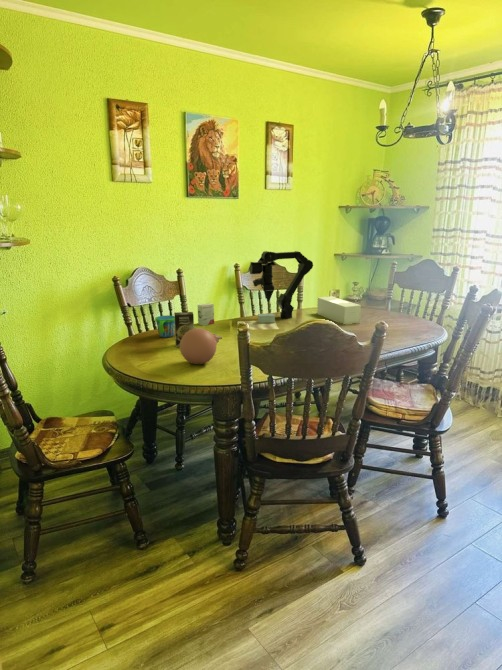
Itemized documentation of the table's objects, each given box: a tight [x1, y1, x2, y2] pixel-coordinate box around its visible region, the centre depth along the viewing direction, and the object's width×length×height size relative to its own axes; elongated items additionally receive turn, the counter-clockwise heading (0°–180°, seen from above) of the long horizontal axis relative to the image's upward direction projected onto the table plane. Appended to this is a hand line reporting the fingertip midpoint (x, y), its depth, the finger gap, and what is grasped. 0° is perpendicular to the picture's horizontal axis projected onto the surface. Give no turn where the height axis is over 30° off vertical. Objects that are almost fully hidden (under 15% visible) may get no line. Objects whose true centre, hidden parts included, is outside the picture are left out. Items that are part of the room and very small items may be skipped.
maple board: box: [236, 320, 280, 331], centre depth 251 cm, size 22×20×2 cm
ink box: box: [197, 302, 215, 327], centre depth 259 cm, size 9×5×12 cm, turn 129°
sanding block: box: [257, 313, 276, 324], centre depth 257 cm, size 9×6×4 cm, turn 94°
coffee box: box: [173, 311, 195, 348], centre depth 216 cm, size 9×6×16 cm
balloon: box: [179, 327, 223, 365], centre depth 191 cm, size 15×20×15 cm
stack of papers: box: [316, 295, 362, 325], centre depth 272 cm, size 32×11×11 cm, turn 21°
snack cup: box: [154, 314, 175, 339], centre depth 234 cm, size 16×10×10 cm
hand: (267, 300), depth 262 cm, fingers open, 9 cm apart
